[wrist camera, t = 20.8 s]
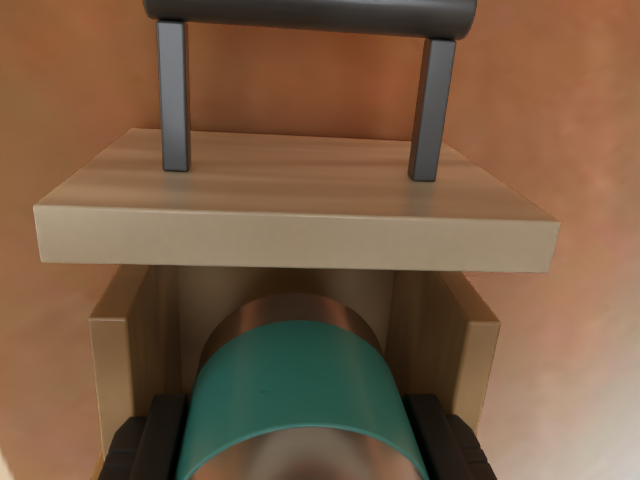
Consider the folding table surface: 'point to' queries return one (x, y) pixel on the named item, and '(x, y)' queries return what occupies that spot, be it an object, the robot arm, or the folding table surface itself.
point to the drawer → (293, 222)
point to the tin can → (296, 399)
